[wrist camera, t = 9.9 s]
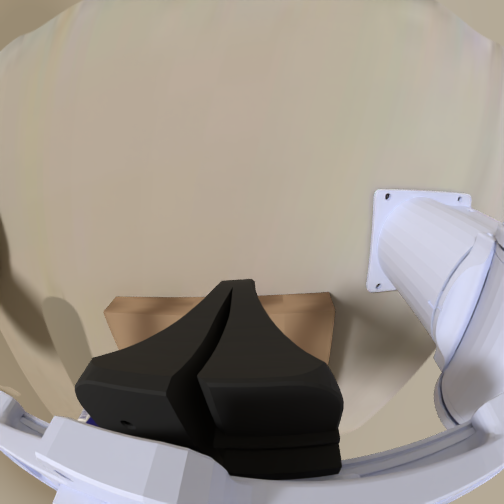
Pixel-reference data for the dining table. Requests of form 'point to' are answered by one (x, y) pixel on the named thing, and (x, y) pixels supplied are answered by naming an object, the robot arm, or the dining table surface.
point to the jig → (173, 308)
